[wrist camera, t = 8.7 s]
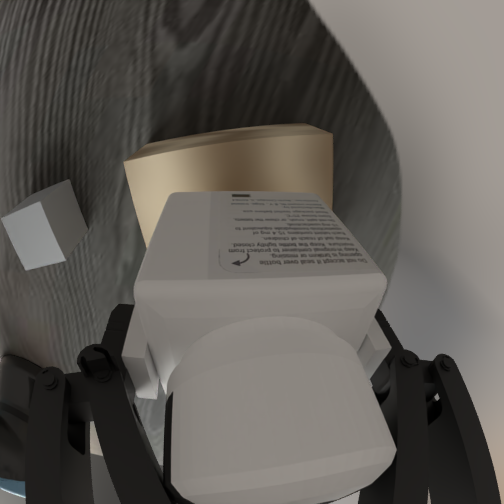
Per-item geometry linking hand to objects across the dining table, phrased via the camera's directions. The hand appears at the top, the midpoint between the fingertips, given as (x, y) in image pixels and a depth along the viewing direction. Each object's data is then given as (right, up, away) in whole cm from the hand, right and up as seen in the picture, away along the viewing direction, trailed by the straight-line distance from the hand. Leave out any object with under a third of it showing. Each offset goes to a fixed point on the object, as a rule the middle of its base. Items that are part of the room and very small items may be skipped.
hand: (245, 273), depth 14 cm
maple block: (-1, +5, +8) cm, 10 cm away
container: (0, +1, +2) cm, 2 cm away
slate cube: (-17, +5, +6) cm, 19 cm away
